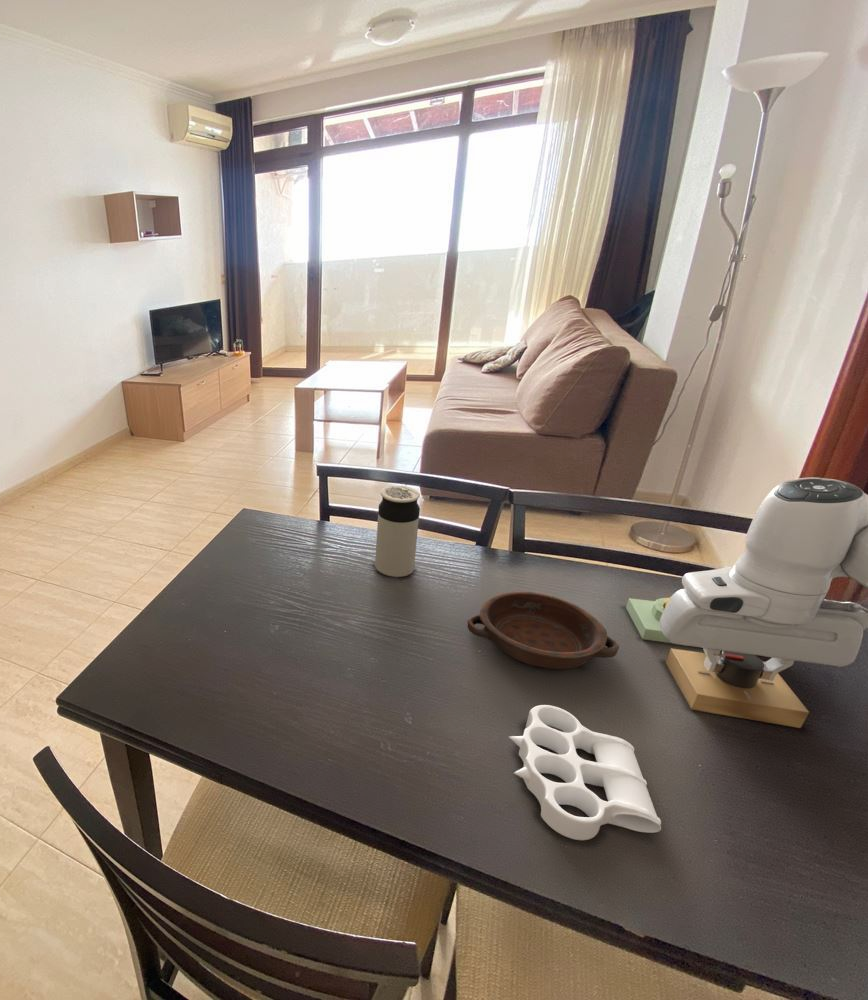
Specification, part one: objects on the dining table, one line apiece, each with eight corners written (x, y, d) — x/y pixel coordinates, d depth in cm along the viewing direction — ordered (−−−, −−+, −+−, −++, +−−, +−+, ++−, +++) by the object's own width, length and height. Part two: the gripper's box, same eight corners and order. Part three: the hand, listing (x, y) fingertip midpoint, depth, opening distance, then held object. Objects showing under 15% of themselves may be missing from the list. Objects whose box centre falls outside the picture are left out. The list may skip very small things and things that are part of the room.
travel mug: (387, 581, 112) (393, 504, 105) (368, 562, 119) (372, 488, 112) (421, 573, 114) (429, 496, 106) (399, 555, 121) (406, 482, 113)
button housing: (700, 617, 95) (708, 598, 93) (724, 650, 87) (733, 631, 86) (625, 607, 99) (631, 589, 97) (642, 639, 91) (648, 620, 89)
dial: (746, 669, 79) (755, 649, 78) (762, 691, 76) (772, 670, 74) (709, 664, 81) (717, 644, 79) (722, 685, 77) (731, 664, 76)
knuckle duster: (666, 865, 59) (516, 824, 65) (621, 737, 74) (502, 712, 80) (675, 846, 58) (520, 805, 63) (627, 720, 73) (505, 695, 78)
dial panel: (762, 677, 82) (770, 661, 80) (800, 728, 73) (810, 711, 72) (665, 662, 86) (671, 647, 85) (691, 709, 78) (698, 693, 76)
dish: (462, 604, 103) (465, 582, 101) (598, 622, 96) (604, 599, 94) (469, 666, 89) (473, 642, 87) (630, 692, 81) (639, 667, 79)
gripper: (860, 591, 71) (818, 671, 77) (670, 572, 78) (644, 646, 84) (895, 620, 66) (847, 704, 72) (687, 597, 73) (659, 674, 79)
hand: (736, 672), depth 78 cm, fingers closed on dial, 4 cm apart
